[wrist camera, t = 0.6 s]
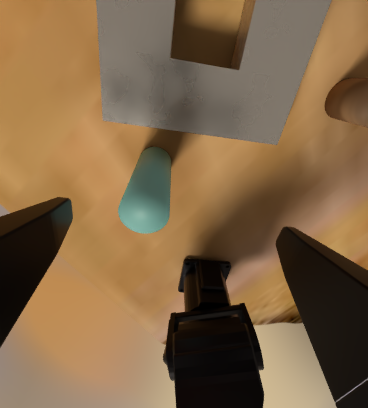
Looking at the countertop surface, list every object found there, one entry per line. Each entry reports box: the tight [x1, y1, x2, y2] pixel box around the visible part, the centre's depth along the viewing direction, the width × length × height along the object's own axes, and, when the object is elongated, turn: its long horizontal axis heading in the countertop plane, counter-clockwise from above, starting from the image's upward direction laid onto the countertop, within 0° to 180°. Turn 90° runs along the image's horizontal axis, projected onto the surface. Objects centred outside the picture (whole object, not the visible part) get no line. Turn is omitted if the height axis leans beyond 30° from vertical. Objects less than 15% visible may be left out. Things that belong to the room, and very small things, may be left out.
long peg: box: [118, 147, 171, 233], centre depth 17 cm, size 3×3×9 cm
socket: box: [96, 0, 331, 145], centre depth 14 cm, size 14×14×3 cm
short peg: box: [325, 78, 368, 128], centre depth 17 cm, size 3×3×4 cm
